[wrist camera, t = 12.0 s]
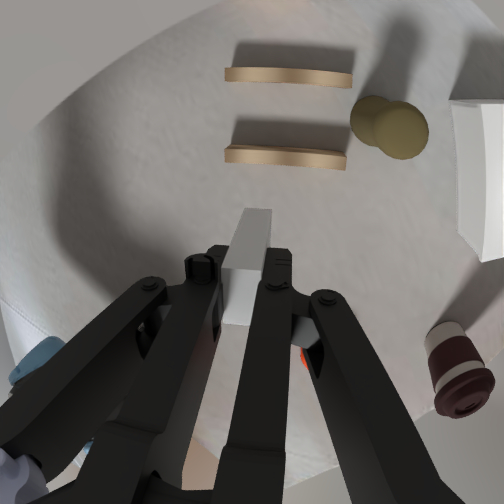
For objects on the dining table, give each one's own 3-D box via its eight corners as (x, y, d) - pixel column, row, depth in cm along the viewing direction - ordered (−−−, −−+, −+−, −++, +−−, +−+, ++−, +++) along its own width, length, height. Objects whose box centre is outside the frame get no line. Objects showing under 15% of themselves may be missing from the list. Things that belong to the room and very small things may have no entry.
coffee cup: (421, 318, 43) (448, 393, 30) (473, 309, 41) (508, 376, 28) (412, 360, 48) (431, 430, 35) (460, 351, 46) (485, 415, 33)
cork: (406, 137, 31) (446, 155, 22) (361, 153, 33) (386, 177, 24) (388, 89, 29) (424, 87, 20) (341, 105, 31) (360, 109, 21)
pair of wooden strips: (230, 156, 36) (224, 162, 33) (230, 69, 31) (224, 67, 28) (341, 164, 34) (345, 170, 32) (347, 75, 29) (352, 74, 27)
